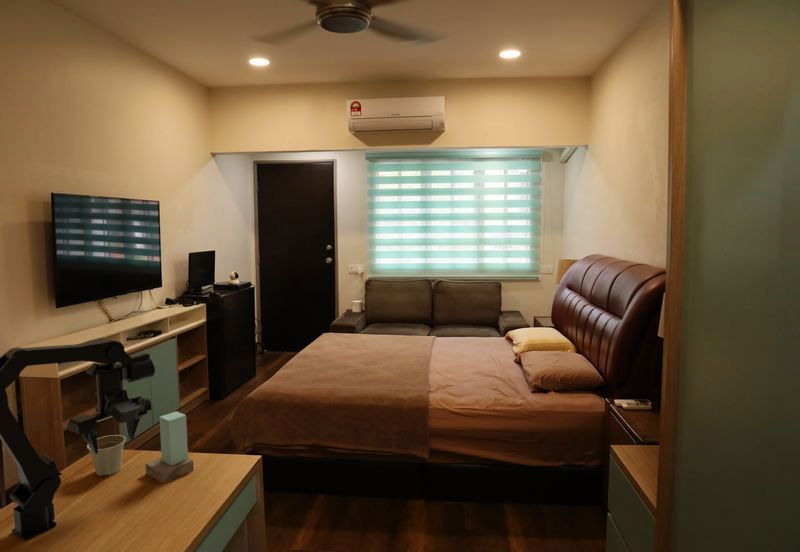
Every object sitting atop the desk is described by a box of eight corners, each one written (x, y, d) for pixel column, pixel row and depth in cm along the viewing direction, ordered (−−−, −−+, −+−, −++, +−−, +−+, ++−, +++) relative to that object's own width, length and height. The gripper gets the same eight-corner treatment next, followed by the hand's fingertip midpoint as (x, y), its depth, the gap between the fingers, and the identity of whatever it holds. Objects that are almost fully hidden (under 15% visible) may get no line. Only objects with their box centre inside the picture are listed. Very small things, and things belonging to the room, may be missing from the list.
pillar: (171, 465, 135) (168, 420, 134) (161, 460, 138) (159, 416, 137) (188, 458, 139) (185, 415, 138) (178, 454, 142) (176, 411, 141)
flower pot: (109, 481, 133) (107, 451, 132) (80, 477, 135) (78, 447, 134) (135, 464, 142) (133, 436, 141) (107, 461, 144) (105, 433, 143)
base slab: (162, 483, 132) (162, 473, 131) (146, 473, 137) (145, 463, 137) (193, 470, 139) (193, 460, 139) (176, 461, 144) (176, 451, 144)
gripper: (90, 404, 112) (94, 469, 113) (163, 382, 128) (166, 438, 130) (63, 396, 117) (68, 458, 119) (137, 375, 133) (140, 430, 135)
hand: (114, 446), depth 125 cm, fingers open, 9 cm apart
